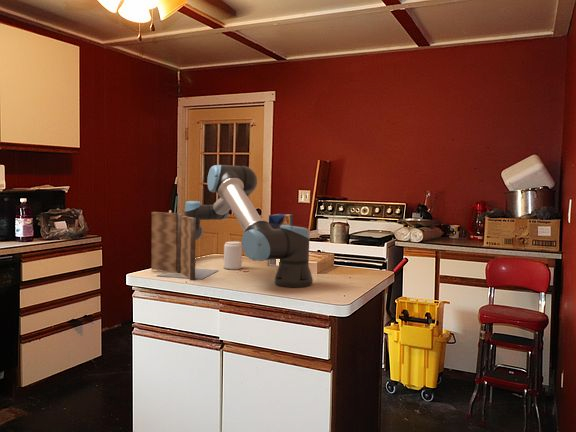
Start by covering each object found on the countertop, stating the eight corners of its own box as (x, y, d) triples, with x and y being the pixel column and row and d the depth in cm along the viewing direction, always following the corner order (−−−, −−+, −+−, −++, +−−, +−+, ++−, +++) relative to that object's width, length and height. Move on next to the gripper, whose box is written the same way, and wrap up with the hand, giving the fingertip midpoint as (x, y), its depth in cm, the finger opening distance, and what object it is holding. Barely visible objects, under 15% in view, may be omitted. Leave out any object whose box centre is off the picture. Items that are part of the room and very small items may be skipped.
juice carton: (282, 267, 244) (283, 216, 242) (267, 265, 247) (268, 215, 245) (291, 263, 255) (292, 214, 254) (277, 261, 258) (278, 213, 256)
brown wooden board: (177, 271, 222) (178, 213, 220) (175, 272, 221) (176, 213, 219) (153, 269, 227) (153, 211, 225) (151, 269, 225) (151, 212, 223)
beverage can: (220, 268, 238) (220, 242, 237) (234, 266, 243) (235, 240, 242) (230, 270, 232) (231, 244, 231) (245, 268, 237) (245, 242, 236)
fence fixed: (176, 273, 222) (176, 212, 220) (181, 273, 223) (182, 212, 221) (190, 280, 209) (191, 215, 207) (196, 279, 210) (197, 215, 208)
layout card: (218, 270, 230) (218, 269, 230) (202, 279, 211) (202, 278, 211) (176, 268, 234) (176, 267, 234) (156, 276, 215) (156, 275, 215)
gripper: (197, 243, 246) (175, 250, 223) (170, 241, 249) (145, 248, 227) (197, 227, 246) (175, 233, 223) (170, 226, 249) (145, 231, 226)
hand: (160, 241), depth 225 cm, fingers closed
